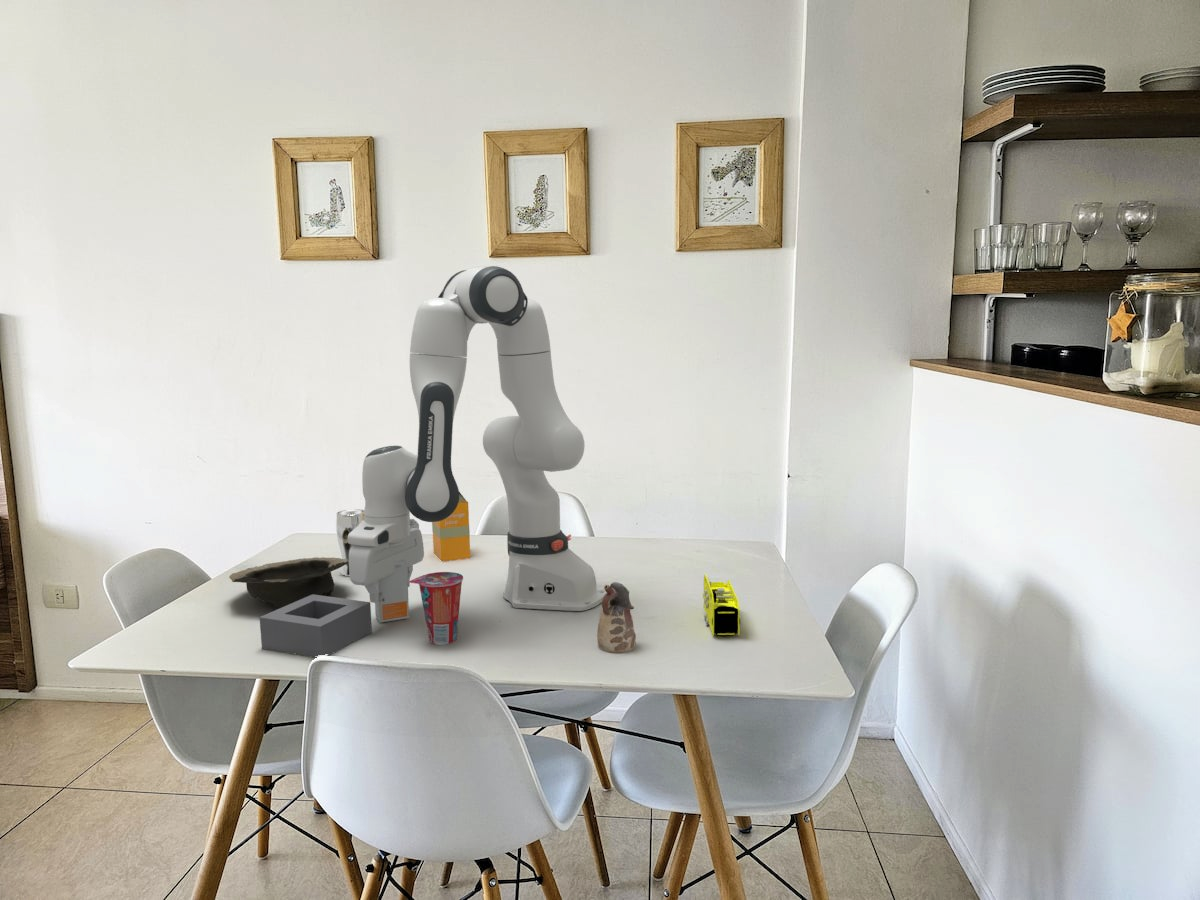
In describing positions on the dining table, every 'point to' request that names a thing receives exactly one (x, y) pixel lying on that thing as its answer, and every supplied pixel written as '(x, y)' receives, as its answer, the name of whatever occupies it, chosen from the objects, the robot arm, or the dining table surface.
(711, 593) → the yellow toy chassis
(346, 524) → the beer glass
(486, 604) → the dining table surface
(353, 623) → the mount block
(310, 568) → the stone bowl
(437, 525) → the orange juice
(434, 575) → the cup
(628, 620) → the figurine
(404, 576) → the skincare box
